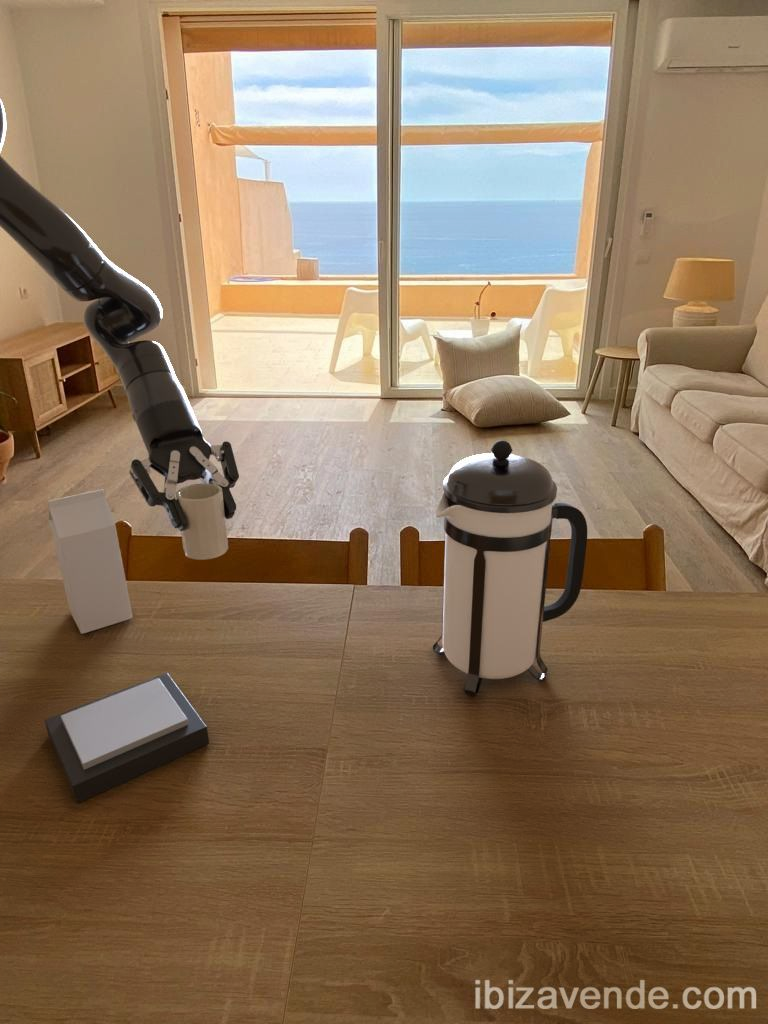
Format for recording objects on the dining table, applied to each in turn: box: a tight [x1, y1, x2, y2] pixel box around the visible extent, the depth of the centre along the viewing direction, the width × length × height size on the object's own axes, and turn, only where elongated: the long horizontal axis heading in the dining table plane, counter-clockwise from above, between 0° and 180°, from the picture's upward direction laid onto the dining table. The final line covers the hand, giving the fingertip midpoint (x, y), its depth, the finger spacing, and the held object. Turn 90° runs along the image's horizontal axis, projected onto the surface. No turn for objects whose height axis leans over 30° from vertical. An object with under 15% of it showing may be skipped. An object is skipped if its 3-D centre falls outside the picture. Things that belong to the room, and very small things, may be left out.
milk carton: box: [47, 488, 133, 635], centre depth 97 cm, size 7×7×19 cm
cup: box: [175, 482, 229, 561], centre depth 92 cm, size 6×6×8 cm
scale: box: [44, 672, 210, 805], centre depth 76 cm, size 14×12×3 cm
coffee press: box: [432, 439, 588, 697], centre depth 84 cm, size 17×16×30 cm
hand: (207, 521), depth 90 cm, fingers closed on cup, 6 cm apart
